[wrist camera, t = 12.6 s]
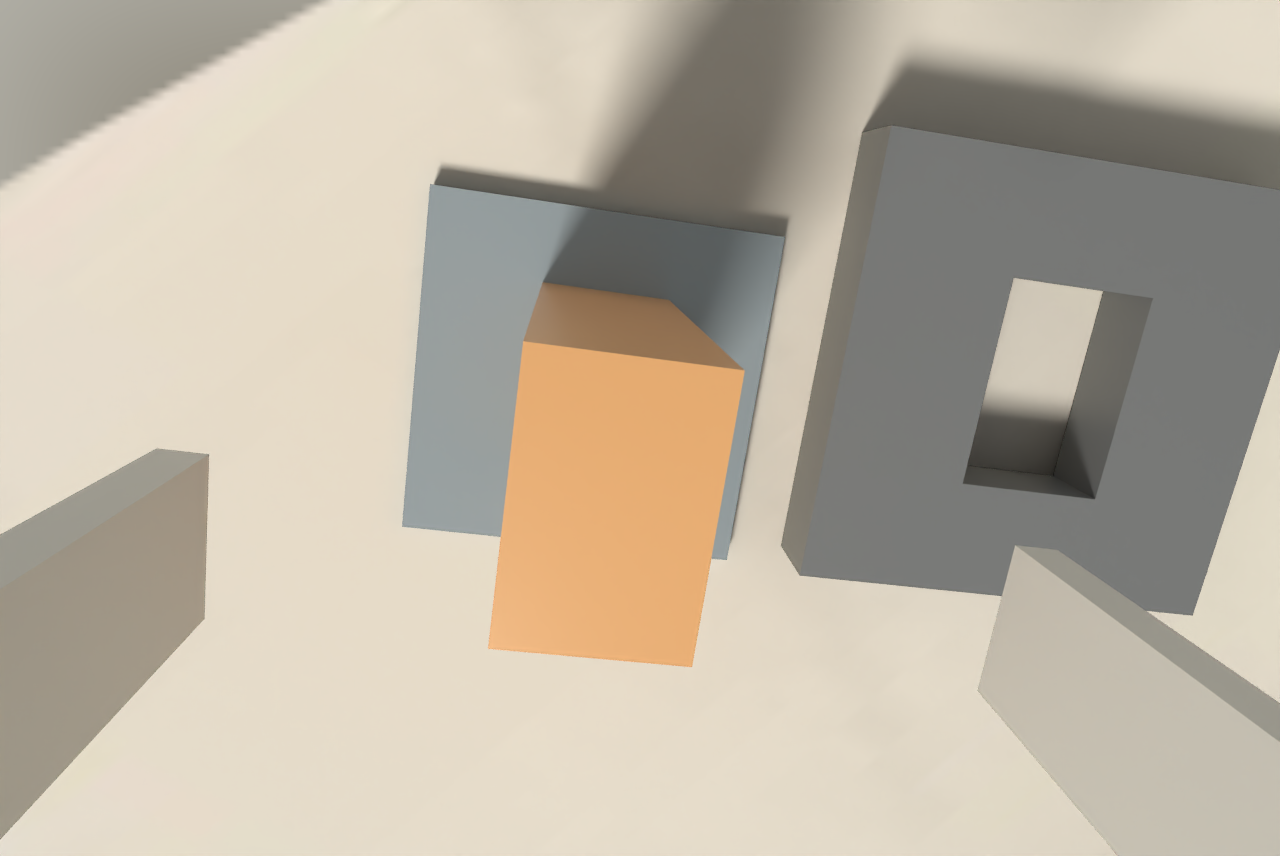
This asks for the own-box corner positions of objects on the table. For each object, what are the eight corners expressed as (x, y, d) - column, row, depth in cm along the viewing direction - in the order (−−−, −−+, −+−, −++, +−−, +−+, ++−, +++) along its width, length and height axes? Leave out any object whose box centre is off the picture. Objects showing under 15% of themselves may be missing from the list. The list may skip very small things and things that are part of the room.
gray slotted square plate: (1264, 198, 28) (1329, 198, 26) (1145, 584, 32) (1192, 615, 29) (862, 132, 27) (891, 125, 24) (781, 545, 30) (799, 575, 28)
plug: (668, 299, 27) (744, 370, 15) (641, 478, 28) (692, 666, 17) (542, 282, 26) (523, 341, 15) (521, 465, 28) (488, 648, 16)
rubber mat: (780, 236, 27) (785, 236, 27) (723, 553, 30) (726, 560, 29) (433, 184, 26) (430, 184, 25) (405, 520, 29) (402, 526, 28)
